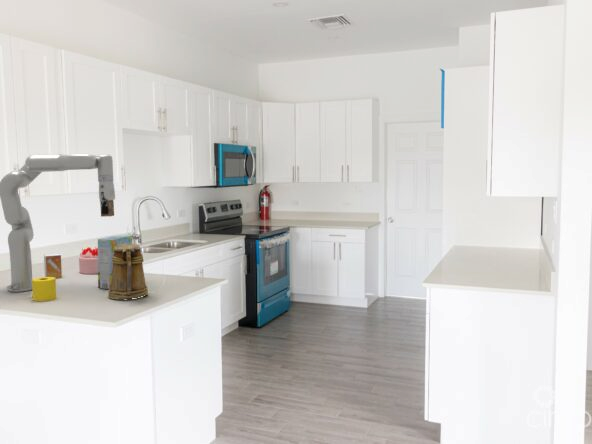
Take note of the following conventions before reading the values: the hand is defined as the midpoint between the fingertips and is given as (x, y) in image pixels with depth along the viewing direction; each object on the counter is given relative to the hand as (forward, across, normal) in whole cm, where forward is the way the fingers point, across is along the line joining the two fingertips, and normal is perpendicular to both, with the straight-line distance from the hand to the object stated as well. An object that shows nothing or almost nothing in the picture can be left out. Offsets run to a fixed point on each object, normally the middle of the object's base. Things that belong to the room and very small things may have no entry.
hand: (107, 213), depth 277 cm
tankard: (+38, -28, -20) cm, 51 cm away
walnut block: (+2, 0, 0) cm, 2 cm away
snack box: (+38, -1, -4) cm, 38 cm away
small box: (+38, +16, +40) cm, 57 cm away
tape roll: (+38, -32, +19) cm, 53 cm away
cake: (+38, +36, +23) cm, 57 cm away
